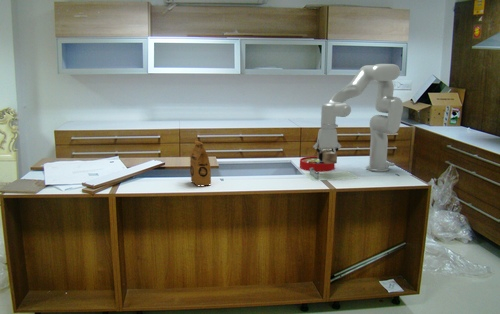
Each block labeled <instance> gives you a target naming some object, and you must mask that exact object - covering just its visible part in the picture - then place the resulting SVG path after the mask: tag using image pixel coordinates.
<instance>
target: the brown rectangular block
mask: <svg viewBox="0 0 500 314" xmlns="http://www.w3.org/2000/svg"><path fill="white" fill-rule="evenodd" d="M316 152H317V151H316ZM316 156H317V158H318V159H319V153H318V152H317V153H316ZM337 161H338V153H337V152H336V153H334V152H333V151H332V149H331V150H330V148H323V151H322V162H324V163H325V164H332V163H335V164H337Z"/></svg>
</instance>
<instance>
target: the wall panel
mask: <svg viewBox="0 0 500 314" xmlns="http://www.w3.org/2000/svg"><path fill="white" fill-rule="evenodd" d="M303 175H305V176H306V177H307V178H308V179H310V180H311V181H312V182H316V181H333V180H335V181H336V180H352V179H359V177H358V176H357V175H355V174H354V173H352V172H350V171H348V170H342V171H339V170H338V171H322V172H319V180H317V179H316V178H314V177H313V176H312V175H311V174H310V172H304V173H303Z"/></svg>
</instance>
